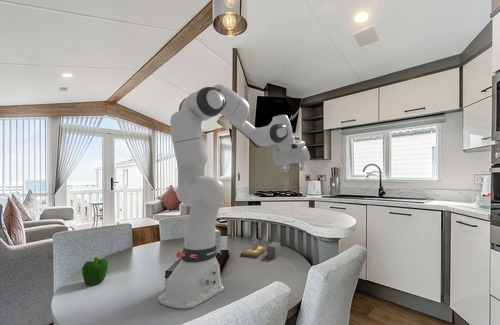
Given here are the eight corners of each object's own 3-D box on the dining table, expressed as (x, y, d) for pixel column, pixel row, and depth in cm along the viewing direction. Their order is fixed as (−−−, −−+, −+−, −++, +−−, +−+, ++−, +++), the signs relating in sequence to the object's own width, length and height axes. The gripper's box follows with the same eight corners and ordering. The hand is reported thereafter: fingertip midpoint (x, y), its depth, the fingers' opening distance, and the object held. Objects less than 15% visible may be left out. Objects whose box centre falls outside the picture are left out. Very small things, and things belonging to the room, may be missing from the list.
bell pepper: (85, 280, 94) (85, 254, 94) (109, 277, 97) (109, 251, 97) (78, 289, 86) (79, 260, 87) (104, 285, 89) (105, 257, 90)
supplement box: (202, 254, 124) (202, 229, 125) (216, 252, 127) (216, 228, 128) (206, 258, 117) (206, 232, 118) (220, 256, 120) (220, 230, 121)
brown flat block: (257, 257, 116) (257, 245, 116) (240, 255, 120) (240, 244, 120) (268, 248, 131) (268, 238, 131) (253, 247, 134) (253, 236, 135)
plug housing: (275, 258, 114) (274, 247, 114) (267, 258, 116) (266, 246, 116) (280, 253, 122) (280, 242, 123) (273, 252, 124) (272, 241, 124)
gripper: (268, 150, 128) (275, 174, 130) (301, 144, 114) (308, 171, 116) (274, 147, 132) (281, 170, 135) (307, 141, 118) (314, 167, 120)
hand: (294, 171), depth 125 cm, fingers open, 8 cm apart
